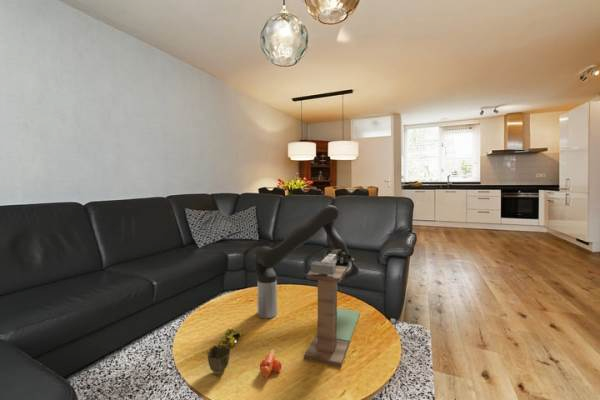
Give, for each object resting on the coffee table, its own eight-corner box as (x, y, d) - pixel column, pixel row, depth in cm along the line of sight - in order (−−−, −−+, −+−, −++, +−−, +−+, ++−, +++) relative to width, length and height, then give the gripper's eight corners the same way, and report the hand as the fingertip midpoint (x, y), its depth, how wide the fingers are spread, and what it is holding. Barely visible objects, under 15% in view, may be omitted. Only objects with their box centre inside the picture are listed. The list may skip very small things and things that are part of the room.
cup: (224, 382, 94) (223, 358, 93) (203, 378, 95) (202, 356, 95) (233, 367, 101) (233, 345, 101) (214, 364, 103) (214, 343, 102)
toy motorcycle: (227, 325, 123) (243, 326, 122) (227, 333, 123) (243, 335, 123) (216, 341, 111) (234, 342, 110) (216, 350, 111) (234, 352, 111)
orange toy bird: (267, 344, 106) (259, 365, 94) (286, 351, 105) (280, 373, 93) (263, 356, 106) (254, 378, 94) (282, 363, 106) (275, 387, 94)
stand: (315, 338, 119) (315, 263, 117) (348, 345, 114) (349, 267, 112) (303, 358, 106) (303, 274, 104) (341, 367, 101) (342, 278, 99)
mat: (332, 308, 146) (332, 307, 146) (360, 313, 141) (360, 311, 141) (316, 336, 121) (316, 334, 121) (349, 342, 116) (349, 340, 116)
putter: (328, 255, 124) (328, 248, 124) (346, 257, 121) (346, 250, 121) (310, 272, 102) (310, 264, 101) (332, 275, 99) (332, 266, 98)
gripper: (328, 253, 136) (319, 242, 122) (358, 256, 131) (352, 244, 117) (326, 269, 133) (317, 259, 119) (356, 272, 128) (350, 263, 114)
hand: (334, 252), depth 118 cm, fingers closed on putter, 3 cm apart
